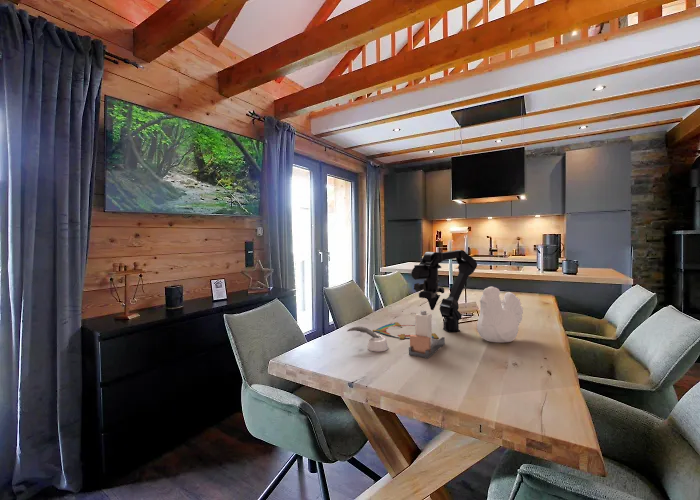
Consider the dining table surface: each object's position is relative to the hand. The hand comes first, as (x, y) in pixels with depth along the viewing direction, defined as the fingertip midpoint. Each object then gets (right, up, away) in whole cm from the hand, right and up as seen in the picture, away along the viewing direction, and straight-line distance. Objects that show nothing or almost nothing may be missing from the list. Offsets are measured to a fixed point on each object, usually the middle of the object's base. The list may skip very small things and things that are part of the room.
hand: (432, 309), depth 157 cm
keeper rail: (-7, -13, -20) cm, 25 cm away
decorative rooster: (+30, -12, -10) cm, 34 cm away
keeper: (-9, -11, -23) cm, 27 cm away
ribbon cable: (-13, -13, +8) cm, 20 cm away
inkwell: (-32, -14, -18) cm, 39 cm away
